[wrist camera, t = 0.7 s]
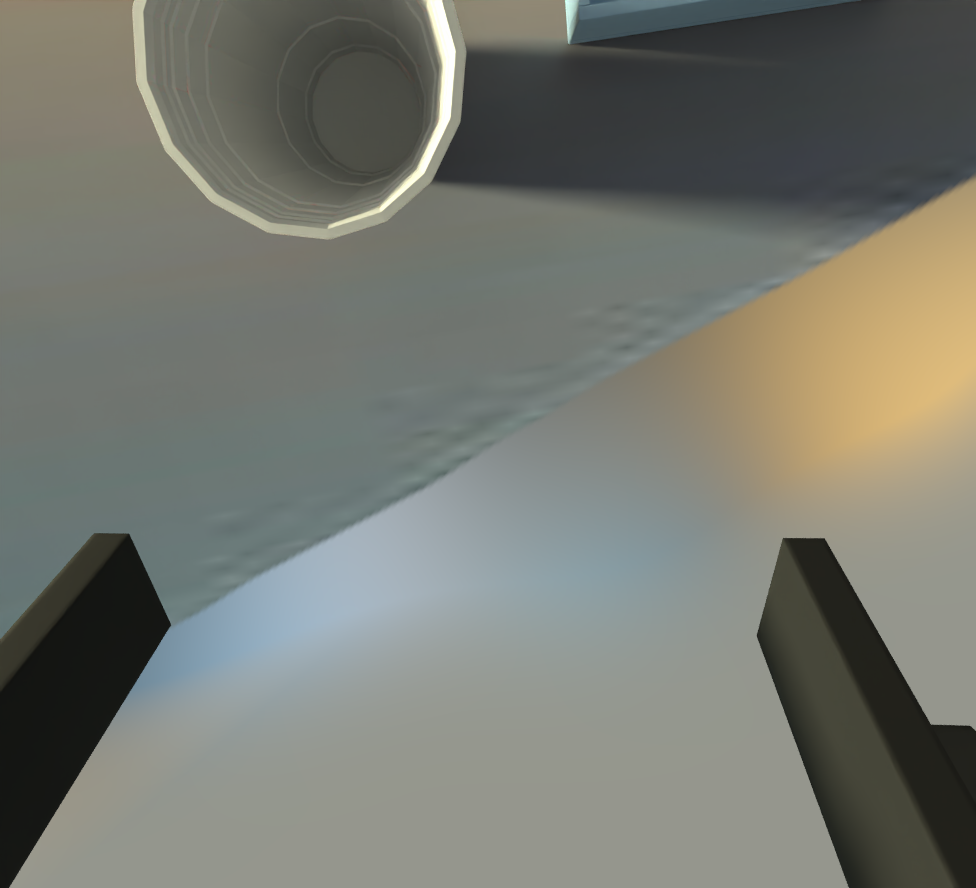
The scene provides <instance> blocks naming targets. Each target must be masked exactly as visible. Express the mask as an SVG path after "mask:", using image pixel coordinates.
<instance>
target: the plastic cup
mask: <svg viewBox="0 0 976 888" xmlns="http://www.w3.org/2000/svg"><path fill="white" fill-rule="evenodd" d="M132 12H133V30H134V48H135V66H136V82H137V85H138V87H139V90H140V92H141V94H142V97H143V99H144V101H145V104H146V106H147V109H148V111H149V113H150V116H151V118H152V121H153V123H154V125H155V128H156V130H157V133H158V135H159V137H160V140H161V142H162V145H163V147H164V149H165V151H166V152H167V153H168V154H169V155H170V156H171V158H172V159H173V160H174V161H175V162H176V163H177V164H178V165H179V167H180V168H181V169H182V170H183V171H184V172H185V173H186V174H187V176H188V177H189V178H190V179H191V180H192V181H193V182H194V183H195V185H196V186H197V187H198V188H199V189H200V190H201V191H202V192H203V193H204V195H205V196H206V197H207V198H208V199H209V200H210V201H211V202H212V203H214V204H216V205H217V206H219V207H221V208H223V209H225V210H227V211H229V212H230V213H232V214H234V215H236V216H238V217H240V218H242V219H244V220H245V221H247V222H249V223H251V224H253V225H255V226H257V227H258V228H260V229H262V230H264V231H266V232H268V233H273V234H282V235H292V236H301V237H310V238H319V239H329V240H330V239H333V238H336V237H339V236H342V235H346V234H349V233H352V232H355V231H358V230H361V229H365V228H368V227H371V226H374V225H377V224H380V223H384V222H386V221H388V220H389V219H390V218H391V217H392V216H393V215H394V214H395V213H397V212H398V211H399V210H400V209H401V208H402V207H403V206H404V205H406V204H407V203H408V202H409V201H410V200H411V199H412V198H413V197H415V196H416V195H417V194H418V193H419V192H420V191H421V190H422V189H424V188H425V187H426V186H427V185H428V184H429V183H430V182H431V181H432V180H433V178H434V176H435V174H436V172H437V170H438V167H439V165H440V163H441V161H442V159H443V157H444V155H445V153H446V151H447V149H448V147H449V145H450V142H451V140H452V138H453V136H454V134H455V132H456V130H457V128H458V126H459V124H460V122H461V110H462V97H463V85H464V73H465V61H466V47H465V43H464V40H463V36H462V32H461V28H460V25H459V21H458V17H457V14H456V10H455V6H454V2H453V0H134V4H133V7H132Z"/></svg>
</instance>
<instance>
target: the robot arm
mask: <svg viewBox="0 0 976 888" xmlns="http://www.w3.org/2000/svg"><path fill="white" fill-rule="evenodd" d="M170 626H171V624H170V621H169V619H168V617H167V615H166V613H165V611H164V608H163V606H162V604H161V602H160V600H159V598H158V595H157V593H156V591H155V589H154V587H153V584H152V582H151V580H150V578H149V576H148V574H147V571H146V569H145V567H144V565H143V563H142V561H141V558H140V556H139V554H138V552H137V550H136V548H135V545H134V543H133V541H132V539H131V537H130V535H129V534H109V533H94V534H93V535H92V536H91V537H90V539H89V540H88V541H87V542H86V543H85V544H84V545H83V547H82V548H81V549H80V550H79V551H78V552H77V553H76V554H75V556H74V557H73V558H72V559H71V560H70V561H69V562H68V563H67V565H66V566H65V567H64V568H63V569H62V570H61V571H60V573H59V574H58V575H57V576H56V577H55V578H54V579H53V580H52V582H51V583H50V584H49V585H48V586H47V587H46V588H45V590H44V591H43V592H42V593H41V594H40V595H39V596H38V597H37V599H36V600H35V601H34V602H33V603H32V604H31V605H30V606H29V608H28V609H27V610H26V611H25V612H24V613H23V614H22V616H21V617H20V618H19V619H18V620H17V621H16V622H15V623H14V625H13V626H12V627H11V628H10V629H9V630H8V631H7V633H6V634H5V635H4V636H3V637H2V638H1V639H0V888H9V887H10V885H11V884H12V882H13V880H14V879H15V877H16V875H17V874H18V872H19V870H20V869H21V867H22V866H23V864H24V862H25V861H26V859H27V858H28V856H29V854H30V853H31V851H32V850H33V848H34V846H35V845H36V843H37V841H38V840H39V838H40V837H41V835H42V833H43V832H44V830H45V828H46V827H47V825H48V823H49V822H50V820H51V819H52V817H53V816H54V814H55V812H56V810H57V809H58V807H59V806H60V804H61V803H62V801H63V799H64V798H65V796H66V794H67V793H68V791H69V789H70V788H71V786H72V785H73V783H74V781H75V780H76V778H77V777H78V775H79V773H80V772H81V770H82V768H83V767H84V765H85V764H86V762H87V760H88V758H89V757H90V756H91V754H92V752H93V751H94V749H95V747H96V746H97V744H98V742H99V741H100V739H101V738H102V736H103V734H104V733H105V731H106V730H107V728H108V726H109V725H110V723H111V721H112V720H113V718H114V717H115V715H116V713H117V712H118V710H119V708H120V707H121V705H122V703H123V702H124V700H125V699H126V697H127V695H128V694H129V692H130V691H131V689H132V687H133V686H134V684H135V682H136V681H137V679H138V678H139V676H140V674H141V673H142V671H143V670H144V668H145V666H146V665H147V663H148V661H149V660H150V658H151V657H152V655H153V653H154V652H155V650H156V649H157V647H158V645H159V643H160V642H161V640H162V639H163V637H164V636H165V634H166V632H167V631H168V629H169V627H170ZM757 638H758V641H759V643H760V646H761V649H762V652H763V654H764V657H765V660H766V663H767V665H768V668H769V671H770V673H771V676H772V679H773V682H774V684H775V687H776V690H777V693H778V695H779V698H780V701H781V704H782V706H783V709H784V712H785V715H786V717H787V720H788V723H789V725H790V728H791V731H792V734H793V736H794V739H795V742H796V744H797V747H798V750H799V752H800V755H801V758H802V761H803V763H804V766H805V769H806V772H807V774H808V777H809V780H810V783H811V785H812V788H813V791H814V794H815V796H816V799H817V802H818V805H819V807H820V810H821V813H822V815H823V818H824V821H825V824H826V827H827V829H828V832H829V835H830V837H831V840H832V843H833V846H834V848H835V851H836V854H837V857H838V859H839V862H840V865H841V867H842V870H843V873H844V876H845V878H846V881H847V884H848V887H849V888H976V731H975V730H974V729H973V728H972V727H971V726H955V725H931V724H930V722H929V721H928V719H927V717H926V715H925V714H924V712H923V711H922V708H921V706H920V705H919V703H918V702H917V699H916V698H915V696H914V695H913V692H912V691H911V689H910V687H909V686H908V684H907V682H906V680H905V679H904V677H903V675H902V673H901V672H900V670H899V668H898V666H897V664H896V663H895V661H894V659H893V657H892V656H891V654H890V652H889V651H888V649H887V647H886V645H885V643H884V642H883V640H882V638H881V636H880V635H879V633H878V631H877V629H876V628H875V626H874V624H873V622H872V621H871V619H870V617H869V615H868V614H867V612H866V610H865V609H864V607H863V605H862V603H861V601H860V600H859V598H858V596H857V594H856V593H855V591H854V589H853V587H852V586H851V584H850V582H849V580H848V579H847V577H846V575H845V574H844V572H843V570H842V568H841V566H840V565H839V563H838V561H837V559H836V558H835V556H834V554H833V552H832V551H831V549H830V547H829V546H828V544H827V542H826V540H825V539H824V538H783V540H782V544H781V547H780V551H779V555H778V559H777V562H776V566H775V570H774V573H773V577H772V581H771V585H770V588H769V592H768V596H767V599H766V603H765V607H764V611H763V614H762V618H761V622H760V626H759V630H758V633H757Z"/></svg>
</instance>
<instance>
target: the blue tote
mask: <svg viewBox="0 0 976 888" xmlns="http://www.w3.org/2000/svg"><path fill="white" fill-rule="evenodd" d="M854 1H860V0H565V4H566V18H567V32H568V43H569V44H576V43H583V42H589V41H596V40H603V39H609V38H616V37H622V36H629V35H636V34H642V33H649V32H655V31H662V30H669V29H675V28H682V27H688V26H695V25H702V24H708V23H715V22H721V21H728V20H735V19H741V18H748V17H755V16H761V15H768V14H774V13H781V12H788V11H794V10H801V9H807V8H814V7H821V6H827V5H834V4H840V3H847V2H854Z"/></svg>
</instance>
